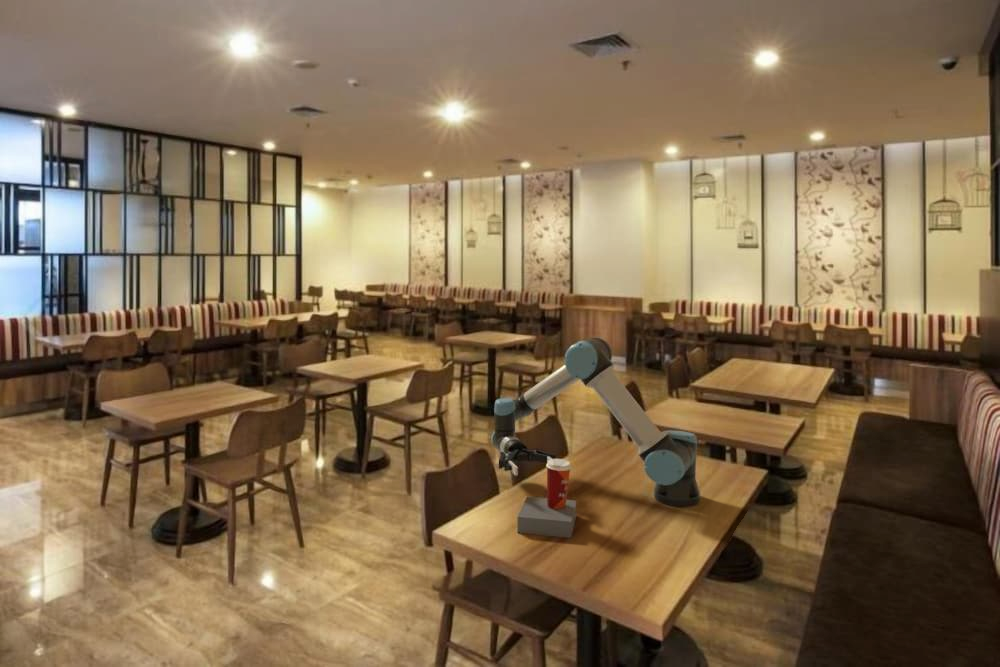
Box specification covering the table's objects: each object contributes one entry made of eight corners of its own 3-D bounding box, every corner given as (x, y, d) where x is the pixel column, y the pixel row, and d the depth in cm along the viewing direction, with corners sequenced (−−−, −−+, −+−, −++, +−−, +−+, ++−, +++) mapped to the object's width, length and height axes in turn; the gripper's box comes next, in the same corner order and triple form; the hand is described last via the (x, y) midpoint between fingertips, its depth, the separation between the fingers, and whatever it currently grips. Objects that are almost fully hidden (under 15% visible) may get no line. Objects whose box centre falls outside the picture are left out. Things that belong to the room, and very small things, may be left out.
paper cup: (567, 512, 191) (570, 467, 189) (542, 508, 193) (544, 464, 191) (569, 502, 199) (572, 459, 197) (545, 499, 200) (548, 456, 198)
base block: (576, 515, 200) (576, 500, 200) (571, 537, 185) (571, 521, 184) (526, 511, 204) (526, 496, 203) (517, 532, 188) (517, 516, 188)
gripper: (546, 456, 226) (571, 475, 206) (479, 463, 218) (499, 484, 198) (546, 435, 225) (572, 453, 205) (479, 442, 217) (499, 461, 197)
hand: (536, 469), depth 202 cm, fingers open, 13 cm apart
